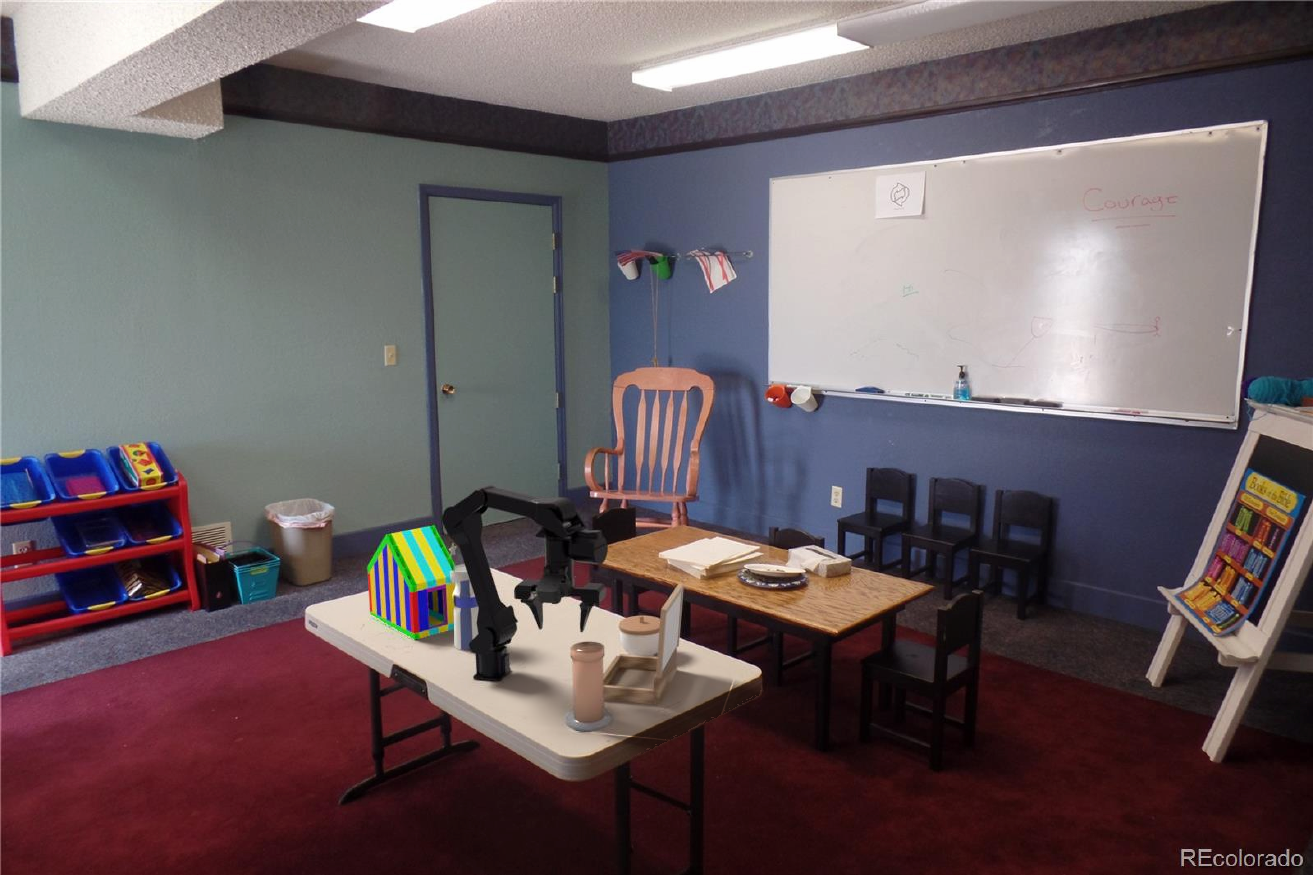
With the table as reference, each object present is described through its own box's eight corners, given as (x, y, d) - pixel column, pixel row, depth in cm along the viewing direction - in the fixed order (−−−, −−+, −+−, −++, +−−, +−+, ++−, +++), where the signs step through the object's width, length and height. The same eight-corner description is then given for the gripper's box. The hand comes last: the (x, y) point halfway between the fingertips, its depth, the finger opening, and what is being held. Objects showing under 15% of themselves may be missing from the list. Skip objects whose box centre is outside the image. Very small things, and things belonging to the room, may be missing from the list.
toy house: (370, 617, 233) (364, 526, 230) (416, 605, 243) (411, 518, 239) (414, 640, 216) (409, 542, 213) (462, 627, 225) (458, 532, 222)
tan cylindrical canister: (565, 716, 171) (563, 648, 169) (589, 705, 176) (588, 638, 174) (588, 726, 166) (586, 656, 164) (612, 715, 171) (611, 646, 169)
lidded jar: (639, 643, 212) (639, 605, 211) (674, 653, 205) (673, 614, 204) (610, 656, 204) (609, 617, 203) (644, 667, 197) (644, 627, 196)
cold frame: (593, 699, 180) (592, 672, 180) (616, 666, 198) (616, 641, 197) (658, 705, 177) (658, 677, 177) (676, 671, 195) (676, 645, 194)
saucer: (559, 729, 168) (559, 724, 167) (574, 709, 176) (573, 704, 176) (604, 733, 166) (603, 729, 165) (616, 713, 174) (616, 708, 174)
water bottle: (448, 651, 208) (443, 549, 205) (456, 638, 217) (452, 540, 213) (482, 651, 208) (478, 549, 205) (489, 638, 217) (485, 540, 213)
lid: (655, 677, 176) (654, 609, 175) (674, 645, 194) (673, 582, 192) (666, 678, 176) (665, 609, 174) (684, 645, 194) (683, 582, 192)
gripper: (502, 567, 177) (505, 641, 179) (590, 571, 172) (592, 647, 175) (522, 552, 187) (525, 622, 190) (606, 557, 183) (607, 628, 185)
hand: (561, 630), depth 184 cm, fingers open, 9 cm apart
